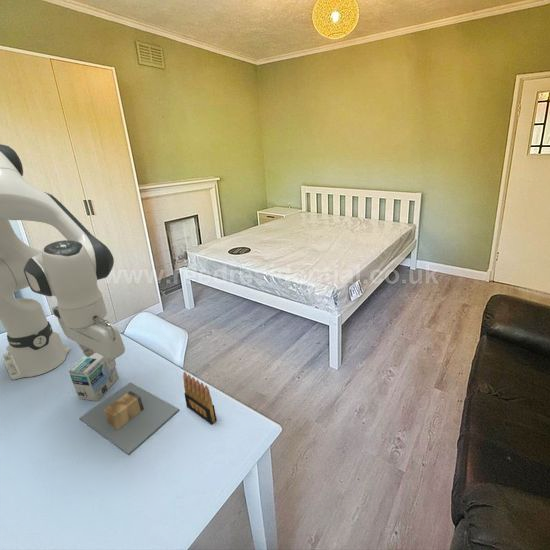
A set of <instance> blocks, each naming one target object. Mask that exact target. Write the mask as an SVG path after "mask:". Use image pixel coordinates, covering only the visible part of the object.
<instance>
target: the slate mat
mask: <svg viewBox="0 0 550 550" xmlns="http://www.w3.org/2000/svg"><path fill="white" fill-rule="evenodd" d="M129 391H131V392H133V393H135V394H137V395H138V396H140V397H141V400H142V404H143V408H144V409H143V410H142V411H141V412H140V413H138V414H137V415H136V416H135V417H133V418H132V419H131V420H130V421H128V422H127V423H126V424H124V425H123V426H122V427H121V428H119V429H116V428H115V427H113V426H112V425H111V424H109V423H108V421H107V418H106V416H105V413H104V409H106V408H107V407H108V406H110V405H111V404H113V403H114V402H115V401H117V400H118V399H120V398H121V397H122V396H124V395H125V394H127V393H128V392H129ZM179 411H180V408H178V407H176V406H175V405H172V404H170V403H169V402H168V401H165V400H163V399H162V398H160V397H158V396H156V395H155V394H152V393H150V392H149V391H147V390H146V389H144V388H142V387H140V386H138V385H136V384H135V383H132V382H131V381H130V382H129V383H128V384H126V385H124V386H123V387H121V388H120V389H118V390H117V391H116V392H115V393H112V395H110V396H108V397H107V398H106V399H104V400H102V401H101V402H100V403H98V404H97V405H95V406H94V407H93V408H92V409H90V410H89V411H87V412H85V413H84V414H83V415H81V416H80V417H79V420H80V421H82V422H83V423H84V424H86V425H87V426H88V427H90V428H91V429H93V430H94V431H95V432H96V433H97V434H99V435H101V436H102V438H104V439H106V440H108V441H109V442H110V443H111V444H113V445H114V446H116V447H117V448H118V449H120V450H121V451H122V452H123V453H125V454H127V455H128V456H130V455H131V454H132V453H134V451H136V450H137V449H138V448H139V447H140V446H141V445H143V444H144V443H145V442H146V440H148V439H149V438H150V437H151V436H153V435H154V433H156V432H157V431H158V430H160V429H161V428H162V427H163V426H164V425H165V424H166V423H167V422H168V421H170V420H171V418H172V417H174V416H175V415H177V414H178V412H179Z"/></svg>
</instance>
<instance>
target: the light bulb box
mask: <svg viewBox="0 0 550 550" xmlns="http://www.w3.org/2000/svg"><path fill="white" fill-rule="evenodd" d="M93 352H94V351H93ZM105 361H106V358H104V356H102V355H100V354H98V353H96V352H94V354H93V355H92V356H90V357H87V356H85V355H83V357H82V358H81V359H79V360H78V361H77V362H76V363H75V364H74V365H72V366H71V367H70V368H68V369H67V371H68V373H69V376H70V379H71V382H72V384H73V387H74V389H75V393H76V394H77V398H78V399H80V400H85V401H86V400H87V401H93V402H98V401H99V400H100V399H101V398H102V397H103V396H104V395H105V394H106V392H108V390H109V389H110V388H111V387H112V386H113V385H114V384H115V383H116V382H117V381H118V380H119V379H120V376H119V374H118V370H117V365H116V366H115V367H114V368H112V369H108V368H107V367H106V365H105V363H104V362H105Z"/></svg>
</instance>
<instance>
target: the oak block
mask: <svg viewBox="0 0 550 550" xmlns="http://www.w3.org/2000/svg"><path fill="white" fill-rule="evenodd" d="M143 409H144V408H143V404H142V400H141V397H140V396H138V395H137V394H135V393H133V392H131V391H129V392H128V393H127V394H125V395H124V396H122V397H121V398H120V399H118V400H117V401H115V402H114V403H113V404H111V405H110V406H108V407H107V408H106V409H104V413H105V416H106V418H107V421H108V423H109V424H111V425H112V426H113V427H115V428H116V429H119V428H121V427H122V426H123V425H124V424H126V423H127V422H128V421H130V420H131V419H132V418H133V417H135V416H136V415H137V414H138V413H140V412H141V411H142V410H143Z"/></svg>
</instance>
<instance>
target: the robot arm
mask: <svg viewBox="0 0 550 550" xmlns="http://www.w3.org/2000/svg"><path fill="white" fill-rule="evenodd" d="M23 168H24V167H23V163H22V160H21V158H20V157H19V155H18V154H17V152H16V150H15V149H13V148H12V147H10V146H9V145H7V144H6V145H5V144H1V143H0V322H1V324H2V325H3V327H4V330H5V331H6V334H7V335H6V339H7V342H8V345H7V346H6V351H7V352H6V353H5V354H3V355H2V357H3V364H4V366H5V368H6V369H5V370H6V371H7V373H8V376H9V378H10V379H11V380H12V381H14V380H18V379H21V378H30V377H31V378H32V377H37V376H40V375H43V374H46V373H47V372H50V371H52V370H54V369H55V368H58V367H59V366H60V365H61V364H62V363H63V362H64V361H65V360H66V357H67V355H68V353H70V351H71V347H70V346H68V345H65V343H64V341H63V340H62V338H61V336H60V333H58V332H56V331H54V330H53V326H52V324H51V323H50V321H48V319H47V316H46V314H45V312H44V309H43V305H42V304H41V303H40V302H39V301H37V300H36V299H33V298H24V297H22V298H21V297H19V298H18V297H15V295H14V293H15V292H18V291H20V290H24V289H26V288H29V289H30V290H31V291H32V292H33V293H36V294H39V295H43V296H46V297H50V298H51V297H56V301H57V306H54V307H52V308H51V311H52V314H53V315H54V317H56V318H57V321H58V323H59V326H60V327H61V330H62V332H63V335H65V337H67V339H69V340H72V341H73V342H75V343H76V344H77V345H78V346H79V349H80V350H81V351H82V353H83V356H87V357H90V356H92V355H93V354H94V352H96V353H98V354H100V355H102V356H104V358H106V361H105V362H104V363H105V365H106V367H107V368H108V369H112V368H114V367H115V366H116V367H117V363H116V362H117V361H116V359H117V358H119V357H121V356H122V355H123V354H125V352H126V348H125V344H124V341H123V339H122V335H121V333H120V331H119V329H118V328H117V326H116V325H115V324H114V323H111V322H110V321H109V320H108V319H104V318H106V316H107V315H108V311H107V307H106V303H105V300H104V297H103V293H102V292H101V290H100V288H99V287H98V281H99V280H102V279H106V278H108V276H109V275H110V273H111V271H112V270H113V268H114V263H115V260H114V256H113V254H112V251H111V250H110V249H109V247H108V246H106V245H105V244H104V243H103V242H102V241H100V240H99V239H98V238H97V237H95V236H94V235H93V234H92V233H91V232H90V231H89V230H88V229H87V228H86V227H85V226H84V224H82V223H81V222H80V221H79V220H78V219H77V217H76V216H74V214H72V213H71V212H70V210H69V209H67V207H65V205H64V204H62V202H61V201H60V200H59V199H58V198H57V197H55V196H53V194H51V193H49V192H45V191H42V190H40V189H39V188H36V187H35V186H33V185H32V184H31V183H29V182H28V181H27V180H26V179H25V178H24V177H23V176H24V169H23ZM10 221H26V222H27V221H28V222H37V223H42V224H43V223H44V224H47V225H50V226H52V227H53V228H55V229H56V230H57V231H58V232H59V233H60V234H61V235H62V236H63V237H64V238H65V239H66V240H64V239H63V240H56V241H54V242H51V243H49V244H47V245H45V246H44V247H43V248H42V251H41V250H39V249H36V248H33V247H31V246H29V245H27V244H26V243H24V242H23V241H22V240H21V239H20V238H19V236H18V235H17V234H16V232H15V231H14V229H13V226H12V224H11V222H10ZM93 351H94V352H93Z"/></svg>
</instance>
